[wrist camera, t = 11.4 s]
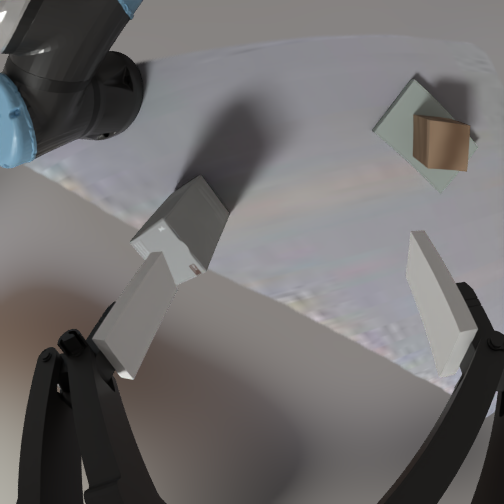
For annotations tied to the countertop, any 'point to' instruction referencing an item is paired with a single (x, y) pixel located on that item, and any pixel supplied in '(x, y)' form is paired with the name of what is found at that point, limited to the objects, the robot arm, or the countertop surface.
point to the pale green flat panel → (401, 130)
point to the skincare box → (184, 230)
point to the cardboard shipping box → (441, 142)
